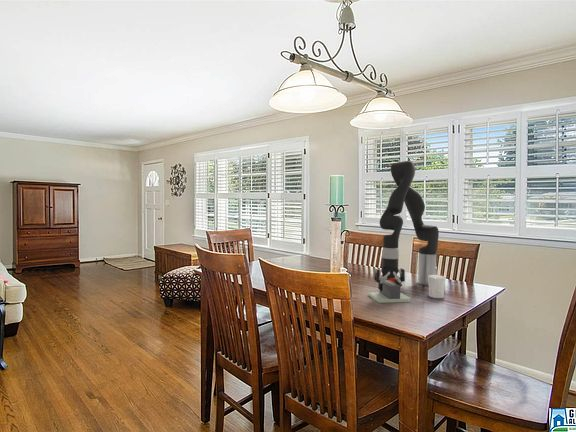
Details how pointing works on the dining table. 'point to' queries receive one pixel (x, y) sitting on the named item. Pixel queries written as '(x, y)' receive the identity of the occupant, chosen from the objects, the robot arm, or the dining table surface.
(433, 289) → the white cup
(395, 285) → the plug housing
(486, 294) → the dining table surface
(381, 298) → the board
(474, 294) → the dining table surface
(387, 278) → the dragon fruit
